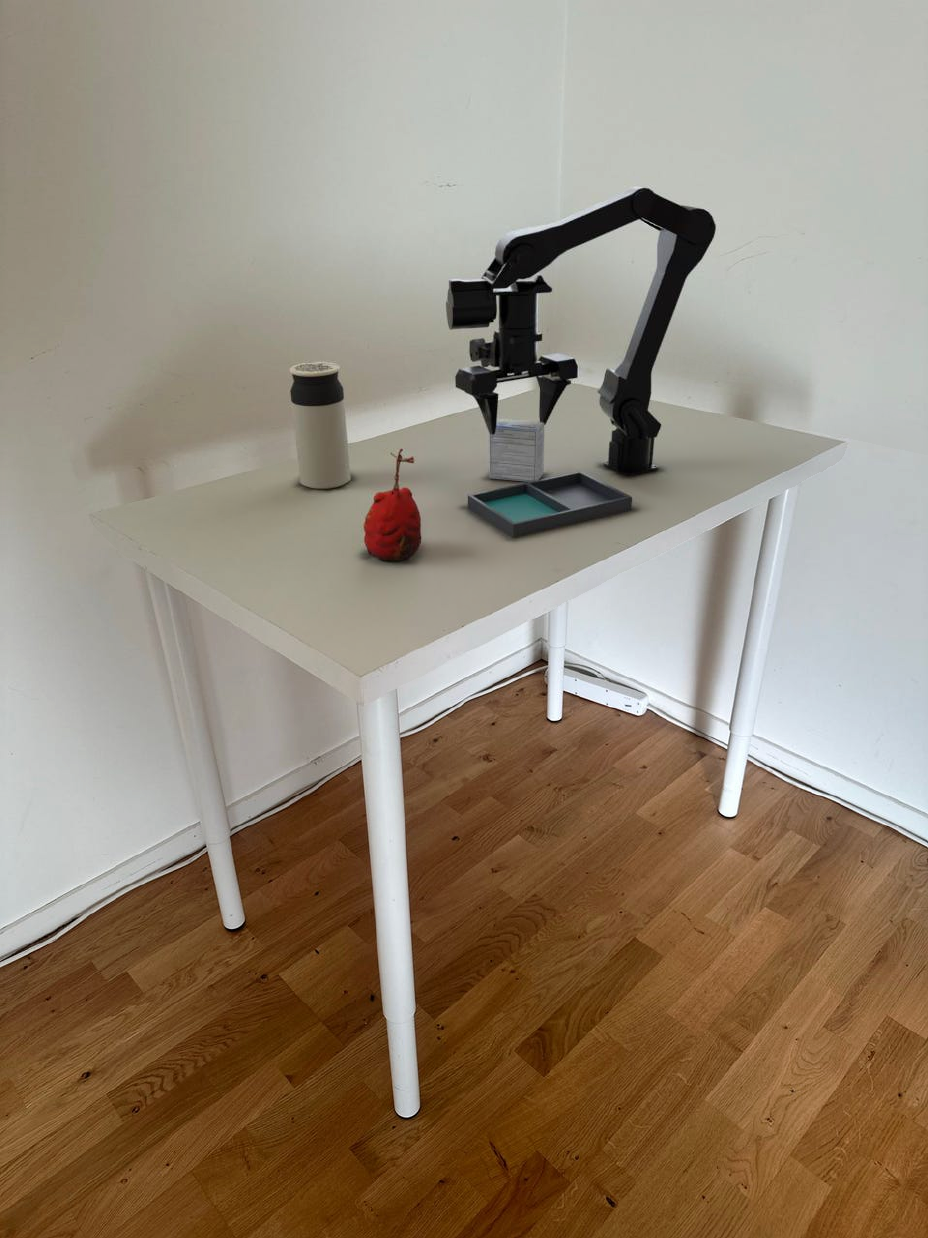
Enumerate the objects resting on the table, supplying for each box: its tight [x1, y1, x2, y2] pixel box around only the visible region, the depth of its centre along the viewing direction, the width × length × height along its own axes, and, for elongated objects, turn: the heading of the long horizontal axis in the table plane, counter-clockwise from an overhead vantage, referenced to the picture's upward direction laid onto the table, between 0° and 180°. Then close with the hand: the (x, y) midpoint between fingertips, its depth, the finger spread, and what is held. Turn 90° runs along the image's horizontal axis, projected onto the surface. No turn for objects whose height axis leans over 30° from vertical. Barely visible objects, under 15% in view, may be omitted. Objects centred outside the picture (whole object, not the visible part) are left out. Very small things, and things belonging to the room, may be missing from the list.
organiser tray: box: [467, 470, 633, 539], centre depth 132 cm, size 20×13×2 cm, turn 118°
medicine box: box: [488, 418, 545, 483], centre depth 142 cm, size 8×4×9 cm, turn 71°
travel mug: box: [289, 361, 352, 490], centre depth 140 cm, size 8×8×18 cm
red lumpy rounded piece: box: [363, 448, 422, 562], centre depth 116 cm, size 8×7×15 cm
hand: (517, 429), depth 141 cm, fingers open, 9 cm apart
